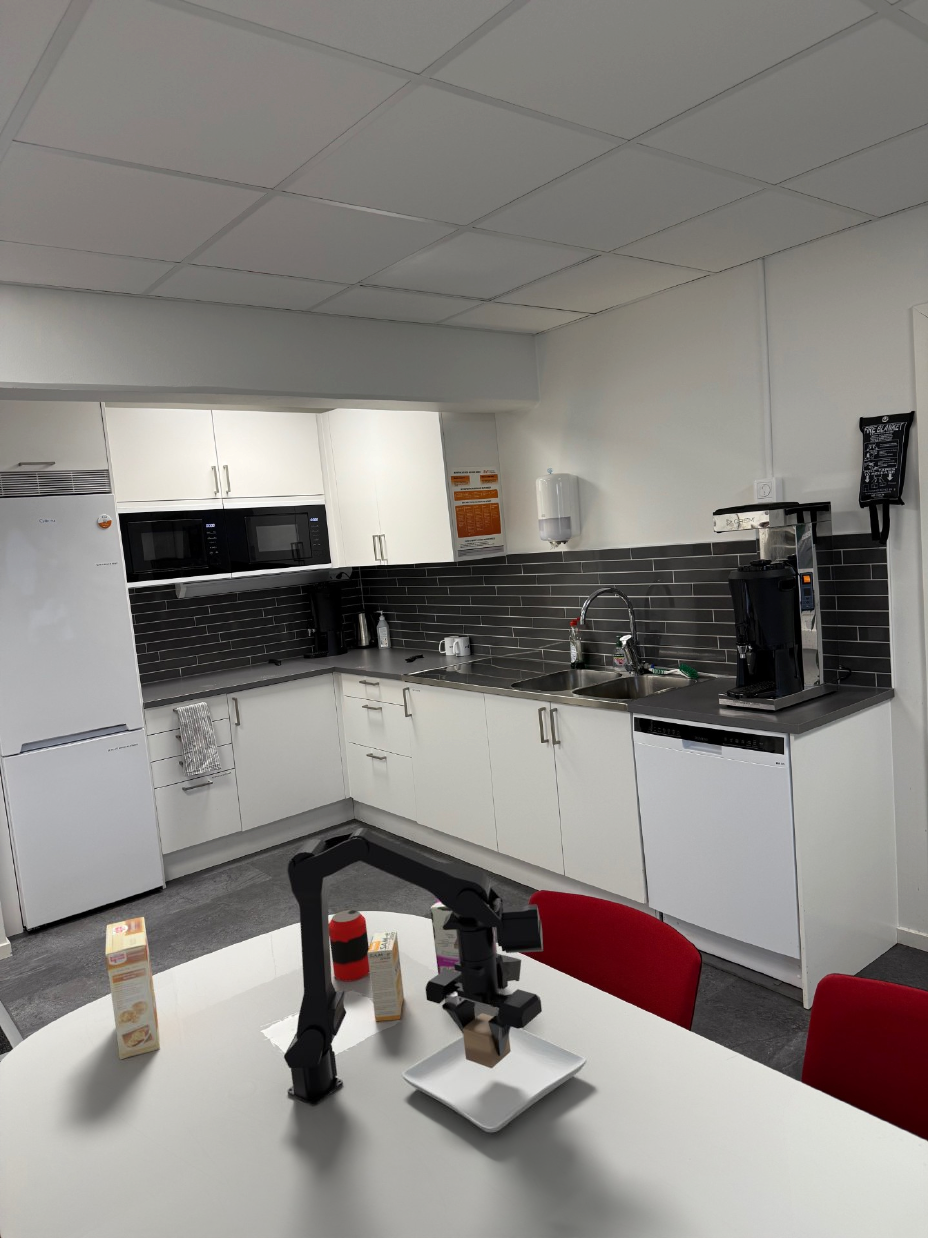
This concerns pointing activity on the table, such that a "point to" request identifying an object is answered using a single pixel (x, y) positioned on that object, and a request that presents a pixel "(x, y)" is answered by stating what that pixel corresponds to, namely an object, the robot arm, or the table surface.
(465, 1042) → the walnut cube
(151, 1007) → the coffeecake box
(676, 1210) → the table surface
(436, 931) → the candy bar box
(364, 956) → the soda can
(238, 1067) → the table surface
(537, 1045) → the salad plate
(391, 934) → the supplement box
